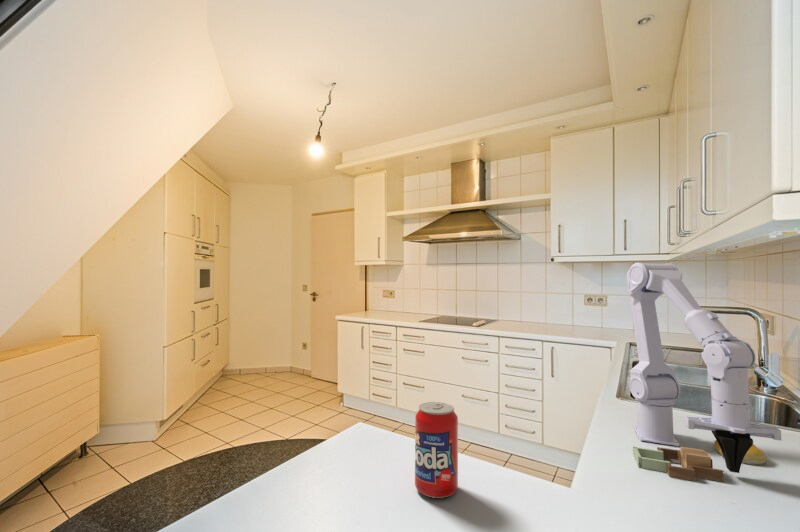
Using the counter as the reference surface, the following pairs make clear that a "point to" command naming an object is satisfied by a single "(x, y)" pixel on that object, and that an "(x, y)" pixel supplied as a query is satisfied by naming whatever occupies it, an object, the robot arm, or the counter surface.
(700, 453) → the oak block
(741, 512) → the counter surface
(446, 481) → the soda can
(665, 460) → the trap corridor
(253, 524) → the counter surface
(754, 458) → the bread roll
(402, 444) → the counter surface
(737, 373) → the robot arm
